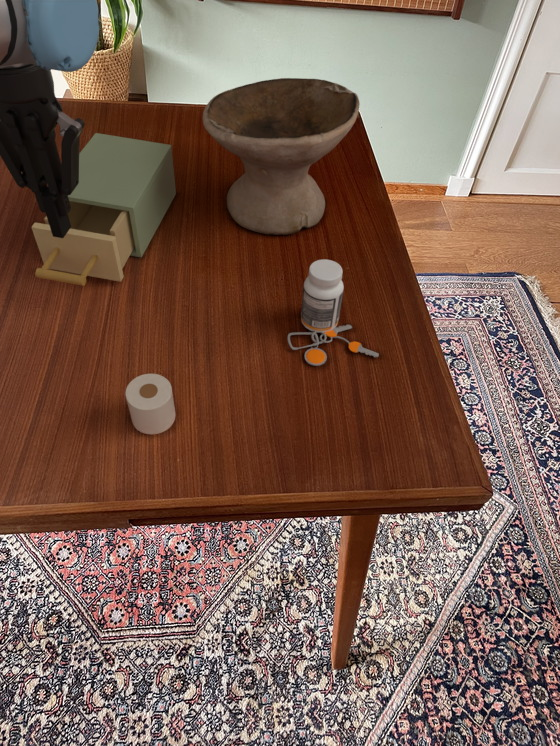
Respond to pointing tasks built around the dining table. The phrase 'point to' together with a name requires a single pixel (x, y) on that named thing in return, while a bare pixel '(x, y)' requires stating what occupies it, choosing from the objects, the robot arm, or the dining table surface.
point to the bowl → (279, 147)
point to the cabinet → (128, 181)
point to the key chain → (318, 355)
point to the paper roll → (150, 403)
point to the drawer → (86, 245)
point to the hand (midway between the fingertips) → (62, 231)
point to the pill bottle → (322, 296)
